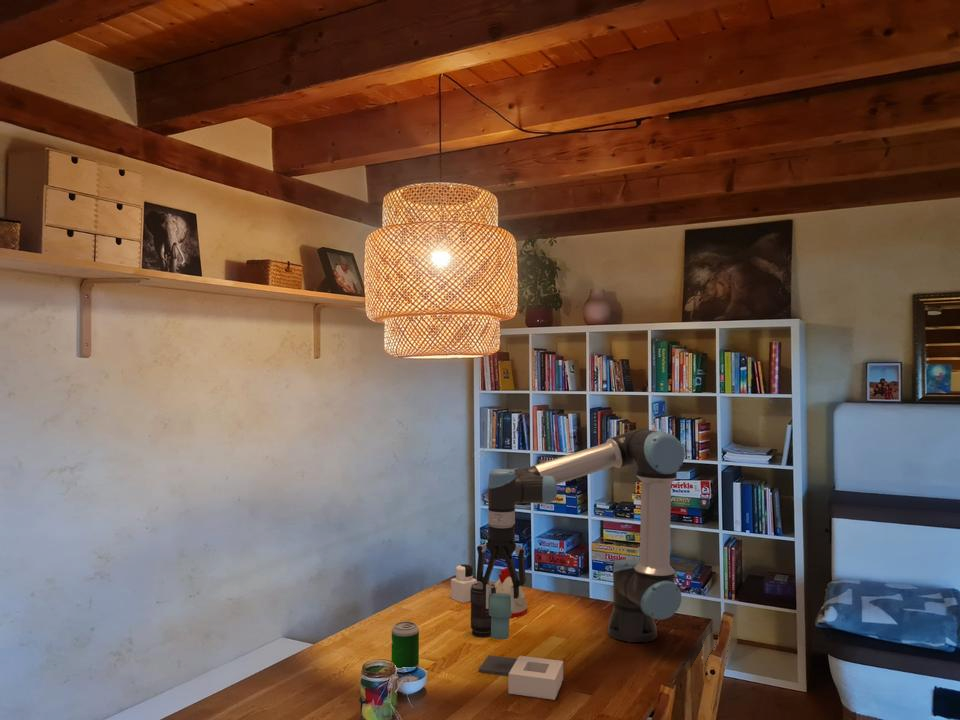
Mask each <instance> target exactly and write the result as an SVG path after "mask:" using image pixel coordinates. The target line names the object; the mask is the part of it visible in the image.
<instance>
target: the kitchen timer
mask: <svg viewBox="0 0 960 720" xmlns="http://www.w3.org/2000/svg"><path fill="white" fill-rule="evenodd" d="M500 571H501V572H500V574H499V573H498V577H499V579H498V580H496V582H495V583H493V584H494V585H495V588H496V593H505V594H509V595H511V586H512V585H513V583H512V580H511V576H510V573H509V570H508V566H506V567H504V568H503V569H501V570H500ZM526 612H527V613H528V603H527V600H526V592H524V591H523V589H522V587H521V586H519V597H518V598H517V599H516V606H515V610H514V611H512V616H511V617H509V619H515V618H514V617H517V618H520V617H519V616H521V617H523V616H522V615H524V614H525V615H526V614H527V613H526ZM525 615H524V616H525Z"/></svg>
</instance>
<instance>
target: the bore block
mask: <svg viewBox="0 0 960 720" xmlns="http://www.w3.org/2000/svg"><path fill="white" fill-rule="evenodd" d="M516 659H517V661H516V662H515V664H514V666H513V667H512V669H511V670H510V672H509V676H508V679H507V680H508V681H507V682H508V691H507V692H508V694H509V695H518V696H525V697H532V698H538V699H546V700H547V699H548V700H552V701H553V700H554V701H555V700H556V698H557V696H558V693H559V690H560V688H561V686H562V685H563V684H562V683H563V682H564V661H563V660H559V659H558V660H557V659H551V658H550V659H549V658H543V657H542V658H541V657H533V656H527V655H526V656H525V655H519V656H518V658H516ZM562 681H563V682H562Z"/></svg>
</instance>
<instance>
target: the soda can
mask: <svg viewBox="0 0 960 720" xmlns="http://www.w3.org/2000/svg"><path fill="white" fill-rule="evenodd" d="M419 655H420V629H419V627H418V625H417V624H416V623H415V622H413V621H400V622H397V623H395V624H394V626H393V627H392V628H391V663H392V662H393V663H394V664H395V665H396V667H397V668H402V667H417V668H418V667H419V666H420V665H419V664H420V657H419Z"/></svg>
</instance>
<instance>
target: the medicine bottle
mask: <svg viewBox="0 0 960 720" xmlns="http://www.w3.org/2000/svg"><path fill="white" fill-rule="evenodd" d="M473 572H474V571H473V566H472V565H469V564H459V565H457V566H456V567H455V577H453V578H450V599H452V600H454V601H456V602H459V603H462V604H465V603H469V602H471V601H470V589H471V585H472V584H475V583H479V581H477V580H476V578H473V576H474V575H473V574H474V573H473Z"/></svg>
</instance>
